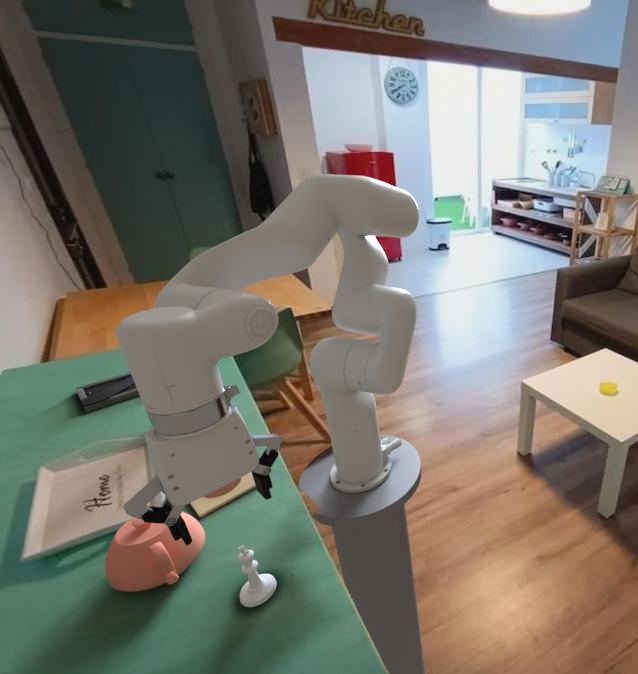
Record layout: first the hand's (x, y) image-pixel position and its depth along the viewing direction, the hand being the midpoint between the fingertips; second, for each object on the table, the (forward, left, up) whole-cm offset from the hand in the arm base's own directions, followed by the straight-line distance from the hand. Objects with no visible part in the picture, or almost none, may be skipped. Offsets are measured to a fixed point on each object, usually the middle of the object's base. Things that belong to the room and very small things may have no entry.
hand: (227, 515), depth 57 cm
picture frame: (-3, -87, -17) cm, 89 cm away
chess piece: (0, 0, -17) cm, 17 cm away
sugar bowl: (+7, -16, -17) cm, 24 cm away
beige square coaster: (-5, -28, -17) cm, 33 cm away
